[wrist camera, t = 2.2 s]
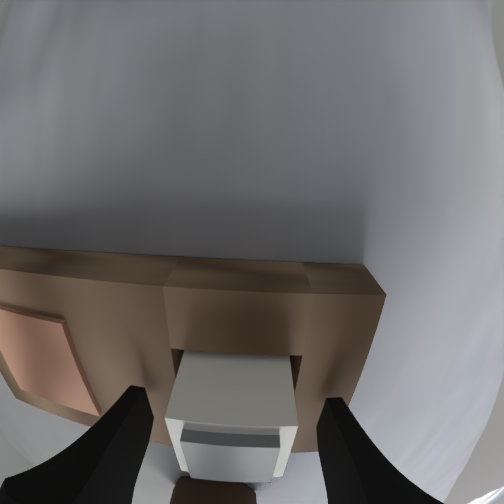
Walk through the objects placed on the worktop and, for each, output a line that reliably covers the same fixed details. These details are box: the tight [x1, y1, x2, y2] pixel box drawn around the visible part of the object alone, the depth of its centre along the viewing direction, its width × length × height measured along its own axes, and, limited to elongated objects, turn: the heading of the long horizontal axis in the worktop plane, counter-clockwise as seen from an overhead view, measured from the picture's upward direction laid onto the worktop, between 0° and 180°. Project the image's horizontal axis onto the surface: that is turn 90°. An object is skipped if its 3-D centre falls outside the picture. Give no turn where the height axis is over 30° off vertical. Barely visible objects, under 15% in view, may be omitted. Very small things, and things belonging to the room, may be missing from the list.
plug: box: [165, 350, 298, 483], centre depth 11 cm, size 4×4×6 cm
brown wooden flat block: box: [0, 246, 386, 453], centre depth 12 cm, size 20×10×3 cm, turn 88°
